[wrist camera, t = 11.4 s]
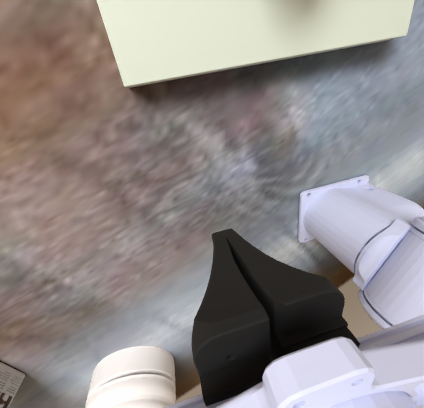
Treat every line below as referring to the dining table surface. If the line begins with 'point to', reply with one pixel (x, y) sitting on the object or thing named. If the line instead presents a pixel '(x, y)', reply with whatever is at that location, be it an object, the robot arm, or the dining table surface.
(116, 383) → the honey pot
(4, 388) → the coffee box
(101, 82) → the dining table surface
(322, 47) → the board
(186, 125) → the dining table surface
